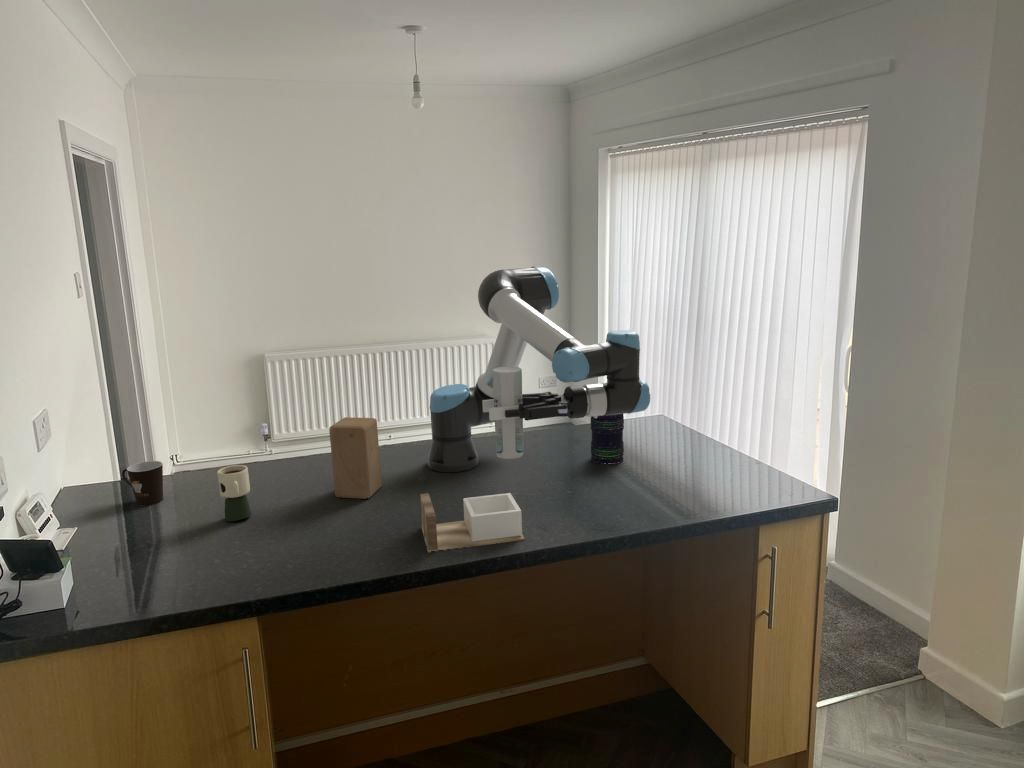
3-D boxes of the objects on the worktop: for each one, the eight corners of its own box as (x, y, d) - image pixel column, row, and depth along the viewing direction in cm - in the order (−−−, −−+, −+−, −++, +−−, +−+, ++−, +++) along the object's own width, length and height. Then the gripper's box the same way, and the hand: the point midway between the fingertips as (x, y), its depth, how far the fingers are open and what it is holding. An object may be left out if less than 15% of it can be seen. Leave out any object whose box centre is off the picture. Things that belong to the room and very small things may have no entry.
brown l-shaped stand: (421, 527, 175) (419, 494, 174) (511, 516, 180) (509, 484, 178) (427, 552, 162) (425, 516, 160) (524, 539, 167) (523, 505, 165)
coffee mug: (173, 500, 198) (167, 465, 196) (139, 510, 192) (134, 474, 190) (155, 490, 206) (150, 456, 204) (123, 499, 200) (117, 464, 197)
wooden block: (369, 500, 193) (363, 427, 189) (334, 498, 195) (327, 426, 191) (383, 486, 203) (377, 417, 198) (349, 485, 205) (343, 416, 200)
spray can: (496, 450, 171) (493, 366, 167) (524, 449, 171) (521, 365, 167) (495, 459, 165) (491, 372, 160) (524, 458, 165) (521, 372, 160)
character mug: (221, 513, 188) (215, 465, 185) (250, 508, 191) (245, 460, 188) (225, 529, 178) (218, 478, 175) (256, 523, 181) (250, 473, 178)
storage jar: (626, 464, 214) (626, 415, 211) (592, 465, 214) (592, 416, 211) (621, 453, 224) (621, 406, 221) (589, 454, 224) (588, 407, 221)
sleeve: (464, 521, 176) (463, 498, 175) (511, 516, 179) (510, 492, 177) (472, 541, 165) (471, 516, 164) (522, 535, 168) (521, 510, 166)
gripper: (598, 428, 161) (496, 438, 156) (570, 406, 180) (478, 415, 174) (598, 395, 160) (495, 404, 154) (570, 376, 178) (477, 384, 173)
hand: (486, 410), depth 164 cm, fingers closed on spray can, 6 cm apart
